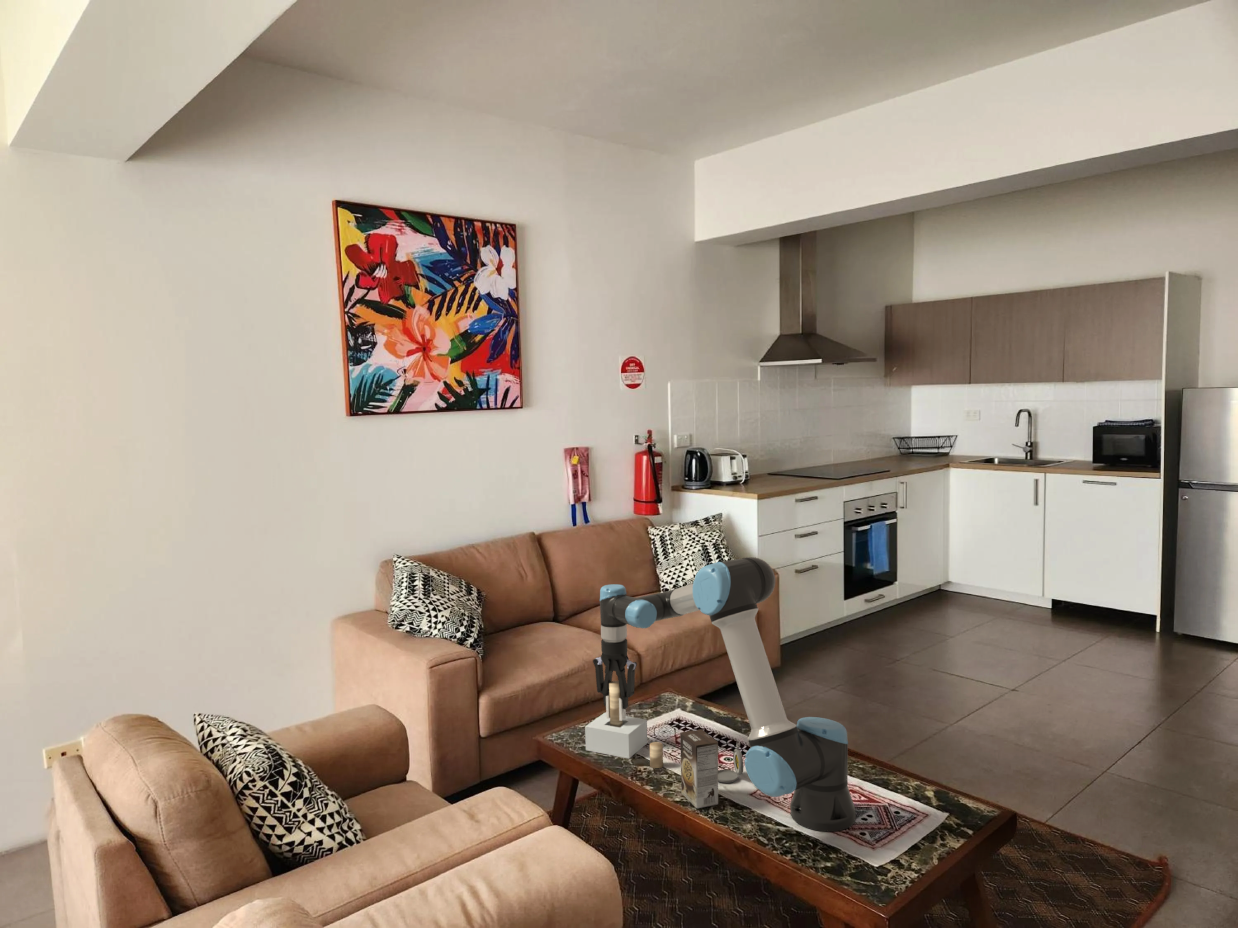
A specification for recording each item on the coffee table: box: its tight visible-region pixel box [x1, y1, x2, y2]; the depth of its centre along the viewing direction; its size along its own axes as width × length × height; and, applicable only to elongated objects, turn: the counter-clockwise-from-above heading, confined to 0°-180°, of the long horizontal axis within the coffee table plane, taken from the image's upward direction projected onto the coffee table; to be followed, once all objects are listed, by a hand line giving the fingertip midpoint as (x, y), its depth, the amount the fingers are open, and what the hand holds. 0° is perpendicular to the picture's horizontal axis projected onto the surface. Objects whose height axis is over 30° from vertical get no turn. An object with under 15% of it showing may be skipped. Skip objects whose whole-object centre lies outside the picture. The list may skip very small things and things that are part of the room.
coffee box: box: [679, 728, 719, 809], centre depth 212 cm, size 9×6×16 cm
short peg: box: [649, 741, 664, 769], centre depth 232 cm, size 4×4×6 cm
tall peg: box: [609, 680, 623, 727], centre depth 245 cm, size 4×4×14 cm
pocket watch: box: [718, 739, 745, 784], centre depth 223 cm, size 8×8×10 cm
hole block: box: [584, 712, 648, 759], centre depth 245 cm, size 12×14×7 cm
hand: (616, 717), depth 245 cm, fingers closed on tall peg, 3 cm apart
